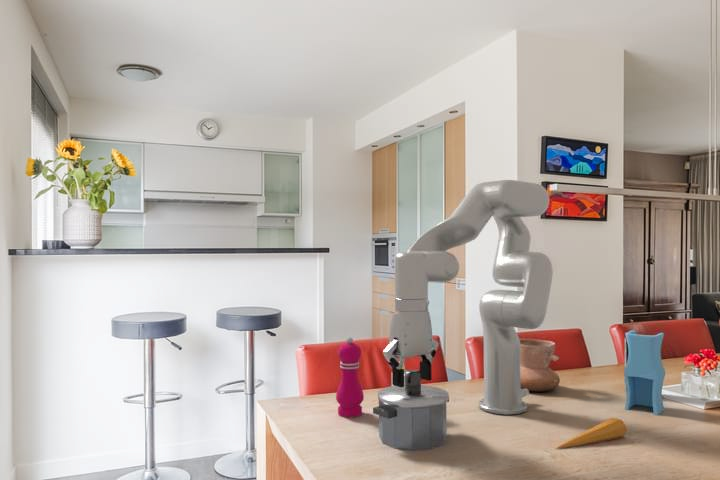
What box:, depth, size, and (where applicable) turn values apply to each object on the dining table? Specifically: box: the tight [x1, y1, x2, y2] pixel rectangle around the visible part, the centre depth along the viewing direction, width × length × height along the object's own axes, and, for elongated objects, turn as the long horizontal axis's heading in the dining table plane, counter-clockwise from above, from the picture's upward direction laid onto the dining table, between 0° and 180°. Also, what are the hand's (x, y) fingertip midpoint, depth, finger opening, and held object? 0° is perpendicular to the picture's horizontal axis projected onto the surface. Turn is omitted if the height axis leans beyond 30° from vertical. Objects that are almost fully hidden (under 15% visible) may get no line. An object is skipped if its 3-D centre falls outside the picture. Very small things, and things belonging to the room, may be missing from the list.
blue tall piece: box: [623, 329, 666, 416], centre depth 141 cm, size 8×8×20 cm
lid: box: [377, 369, 450, 409], centre depth 121 cm, size 16×16×8 cm
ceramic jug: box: [519, 338, 561, 393], centre depth 163 cm, size 18×14×14 cm
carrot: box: [554, 417, 628, 450], centre depth 118 cm, size 20×4×4 cm, turn 114°
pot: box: [372, 399, 450, 451], centre depth 121 cm, size 19×15×9 cm
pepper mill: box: [335, 336, 365, 418], centre depth 139 cm, size 7×7×20 cm
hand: (412, 382), depth 121 cm, fingers open, 8 cm apart
